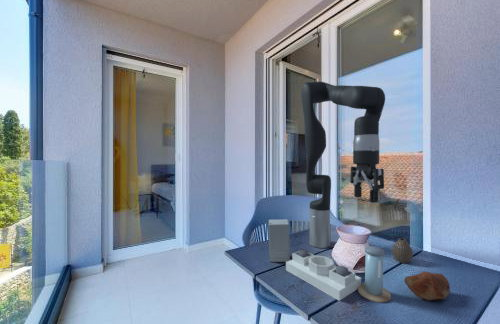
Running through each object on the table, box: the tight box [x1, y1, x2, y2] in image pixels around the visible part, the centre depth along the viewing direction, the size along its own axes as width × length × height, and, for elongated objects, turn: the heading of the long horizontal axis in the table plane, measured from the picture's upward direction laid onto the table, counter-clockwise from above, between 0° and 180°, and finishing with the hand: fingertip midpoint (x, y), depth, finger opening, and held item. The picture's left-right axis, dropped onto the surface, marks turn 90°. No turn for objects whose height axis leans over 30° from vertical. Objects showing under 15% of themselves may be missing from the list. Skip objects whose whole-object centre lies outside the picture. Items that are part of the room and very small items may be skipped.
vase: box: [391, 238, 414, 264], centre depth 91 cm, size 7×7×9 cm
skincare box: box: [268, 218, 291, 263], centre depth 93 cm, size 8×7×16 cm
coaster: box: [357, 282, 392, 303], centre depth 70 cm, size 9×9×1 cm
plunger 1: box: [297, 248, 309, 258], centre depth 85 cm, size 4×4×3 cm
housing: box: [285, 251, 362, 302], centre depth 79 cm, size 12×22×6 cm, turn 35°
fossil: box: [404, 271, 451, 301], centre depth 69 cm, size 13×8×10 cm
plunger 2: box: [336, 265, 349, 277], centre depth 72 cm, size 4×4×3 cm
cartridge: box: [364, 245, 385, 296], centre depth 70 cm, size 5×5×13 cm
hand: (365, 199), depth 74 cm, fingers open, 8 cm apart
